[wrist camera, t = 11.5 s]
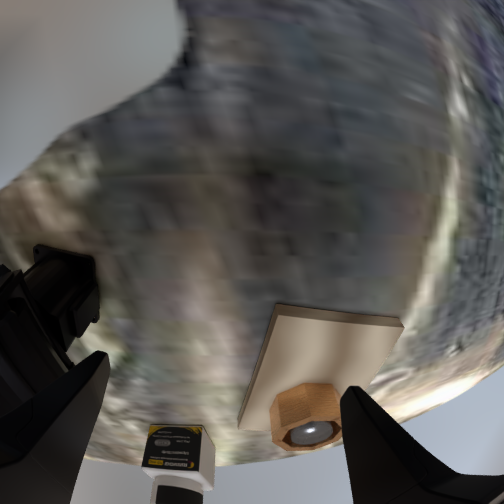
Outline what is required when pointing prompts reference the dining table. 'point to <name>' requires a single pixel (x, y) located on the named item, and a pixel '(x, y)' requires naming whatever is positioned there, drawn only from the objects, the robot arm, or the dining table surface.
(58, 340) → the robot arm
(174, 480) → the medicine bottle
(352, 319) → the piston stand
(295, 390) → the ring
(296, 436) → the piston
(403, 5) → the dining table surface
